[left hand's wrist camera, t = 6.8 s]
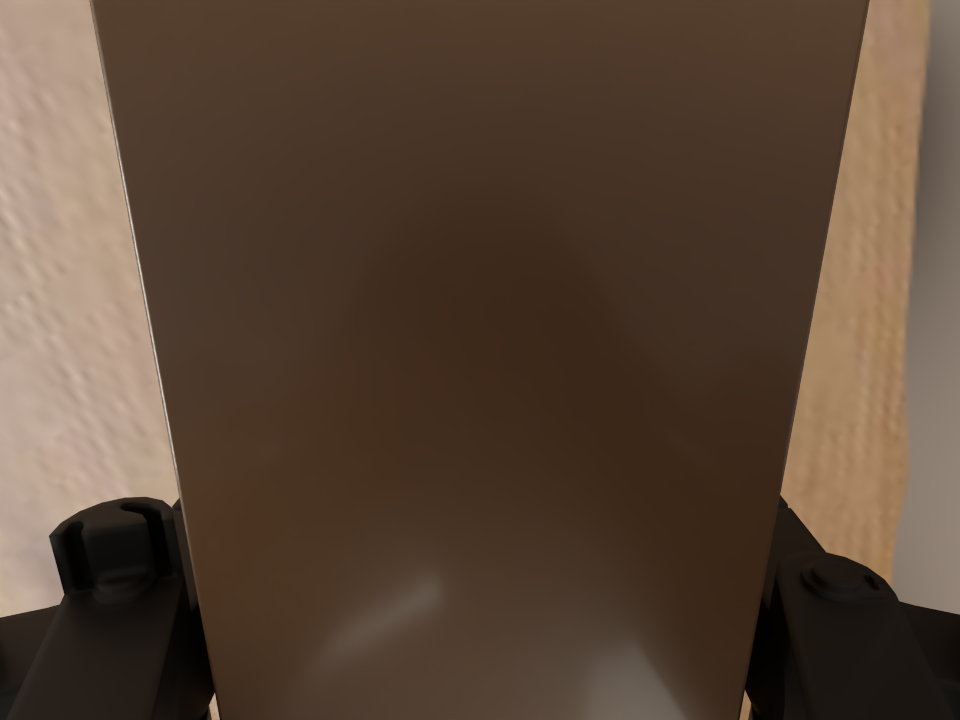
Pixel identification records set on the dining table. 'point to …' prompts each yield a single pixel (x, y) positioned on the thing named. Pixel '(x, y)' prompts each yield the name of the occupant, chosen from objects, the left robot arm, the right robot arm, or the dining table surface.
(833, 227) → the dining table surface
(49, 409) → the dining table surface
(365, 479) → the bar
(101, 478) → the dining table surface
